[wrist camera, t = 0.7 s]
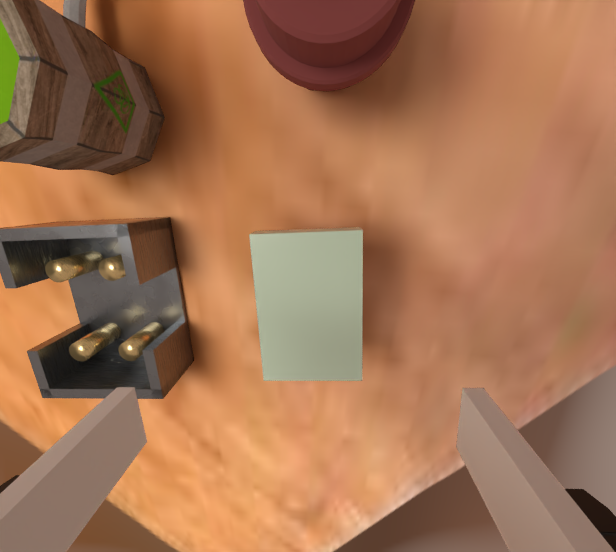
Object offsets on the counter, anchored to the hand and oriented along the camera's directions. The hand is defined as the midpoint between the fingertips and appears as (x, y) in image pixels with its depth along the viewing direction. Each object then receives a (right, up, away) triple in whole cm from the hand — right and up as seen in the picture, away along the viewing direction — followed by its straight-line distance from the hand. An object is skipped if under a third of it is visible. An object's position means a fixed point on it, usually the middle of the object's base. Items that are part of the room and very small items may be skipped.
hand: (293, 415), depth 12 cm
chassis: (-19, +4, +20) cm, 28 cm away
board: (+1, +3, +12) cm, 13 cm away
